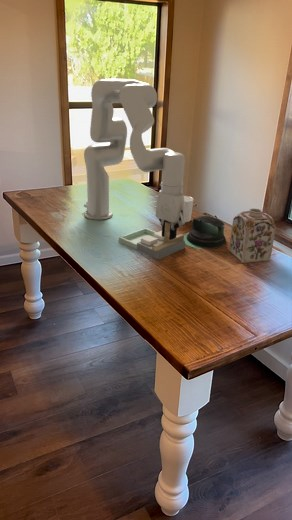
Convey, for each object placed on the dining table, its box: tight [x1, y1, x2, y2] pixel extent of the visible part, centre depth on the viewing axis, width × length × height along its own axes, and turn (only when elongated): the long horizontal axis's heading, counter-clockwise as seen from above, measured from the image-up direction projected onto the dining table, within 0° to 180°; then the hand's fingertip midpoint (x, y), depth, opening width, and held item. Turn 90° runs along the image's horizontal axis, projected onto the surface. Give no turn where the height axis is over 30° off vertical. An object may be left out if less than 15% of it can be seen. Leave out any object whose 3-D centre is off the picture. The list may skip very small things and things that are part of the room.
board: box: [136, 239, 186, 260], centre depth 161 cm, size 11×15×3 cm
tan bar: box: [152, 221, 185, 251], centre depth 156 cm, size 2×16×9 cm, turn 136°
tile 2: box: [153, 230, 164, 240], centre depth 164 cm, size 4×4×2 cm
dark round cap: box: [183, 215, 227, 250], centre depth 169 cm, size 20×20×9 cm
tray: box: [118, 227, 157, 251], centre depth 167 cm, size 10×15×2 cm, turn 136°
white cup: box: [184, 195, 195, 223], centre depth 189 cm, size 8×8×10 cm
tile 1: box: [141, 235, 158, 245], centre depth 159 cm, size 4×4×2 cm
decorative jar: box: [228, 208, 277, 264], centre depth 155 cm, size 12×12×18 cm
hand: (168, 236), depth 157 cm, fingers open, 3 cm apart
